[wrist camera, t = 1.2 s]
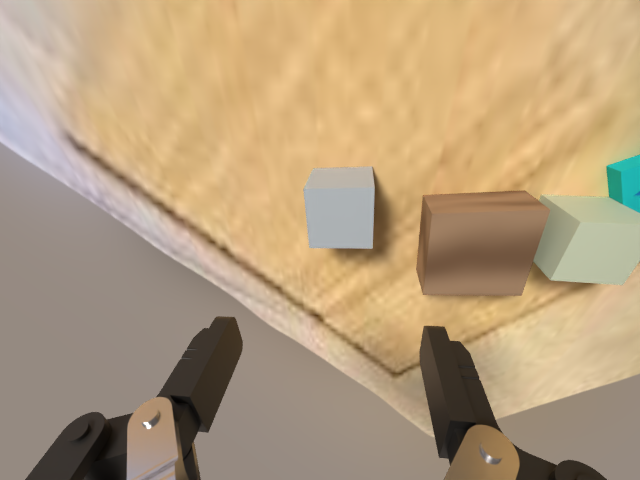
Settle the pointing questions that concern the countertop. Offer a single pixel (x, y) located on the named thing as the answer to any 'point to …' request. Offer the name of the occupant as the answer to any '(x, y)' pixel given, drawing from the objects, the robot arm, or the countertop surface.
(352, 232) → the slate cube
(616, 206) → the sage block
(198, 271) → the countertop surface
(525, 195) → the walnut base
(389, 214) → the countertop surface
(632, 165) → the decorative ornament
